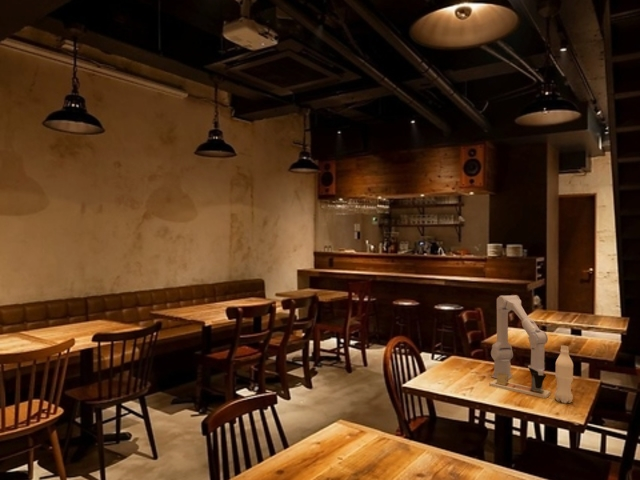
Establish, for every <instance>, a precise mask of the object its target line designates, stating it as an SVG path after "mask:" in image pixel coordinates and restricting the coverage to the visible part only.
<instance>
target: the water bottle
mask: <svg viewBox="0 0 640 480" xmlns="http://www.w3.org/2000/svg"><path fill="white" fill-rule="evenodd" d="M559 351H560V353H559V355H558V357H557V359H556V361H555V374H554V376H555V379H556V390H555V392H554V397H555V399H556V401H557V402H560V403H562V404H567V403H568V404H571V402H572V400H573V399H574V396H573V392H572V389H571V388H572V382H573V381H574V362H573V360H572V358H571V357H570V351H569V346H568V345H560V350H559Z"/></svg>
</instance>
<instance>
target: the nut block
mask: <svg viewBox="0 0 640 480" xmlns="http://www.w3.org/2000/svg"><path fill="white" fill-rule="evenodd" d="M530 381H531V382H530V387H531V389H533V390H537V391H541V390H544V389H543V388H544V387H543V386H544V385H543V384H544V382H543V383H542V387H541V389H540V388H536V386H535V379H534V376H531V380H530Z"/></svg>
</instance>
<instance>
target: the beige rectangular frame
mask: <svg viewBox="0 0 640 480" xmlns="http://www.w3.org/2000/svg"><path fill="white" fill-rule="evenodd" d="M488 386H489V387H493V388H499V389H502V390H507V391H512V392H516V393H520V394H525V395H530V396H534V397H539V398H544V399H548V397H549V396H550V395H551V394H552V392H551V391H550V390H547V389H542V390H541V391H537V390H533V389H531V386H527V385H522V384H519V383H514V382H509V381H508V385H507V386H503V385H498V384H497V379H494V380H492V381H491V382H489V385H488Z"/></svg>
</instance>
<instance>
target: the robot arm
mask: <svg viewBox="0 0 640 480" xmlns="http://www.w3.org/2000/svg"><path fill="white" fill-rule="evenodd" d="M511 311H512V312H514V313H515V315H516V316H517V317H518V318H519V319H520V321H521V326H522V328H523V330H524V331H525V333H527V335H528V337H527V338H528V341H529V347H530V365H527V367H528V370H529V373H530V375H531V377H532V376H534V379H535V386H536V388H540V389H541V387H542V383H543V384H544V380H545V379H546V377H547V375H546V374H545V373H544V371H545V350H546V349H545V346H546V344H547V343H548V341H549V340H548V339H549V338H548V335H547V333H546V332H545V331H543V330H541V329H540V328H539V327H538V325H537V323H536V322H535V321H534V319H532V318H529V316H528V314H527V313H526V311H525V309H524V308H523V306H522V300H521V299H520V296H519V295H516V294H511V295H499V296H497V298H496V341H495V342H494V343H493V344H492V345H491V351H490V355H491V358H492V359H493V361H494V366H493V370H494V371H493V373H494V374H493V375H491V377H490V378H494V379H497V374H498V373H505V374H508V380H510V378H512V377H513V375H512V373H511V371H512V368H511V367H512V365H511V359H513V357H514V353H513V348H512V347H513V346H512V344H510V343H509V313H510V312H511Z"/></svg>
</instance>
